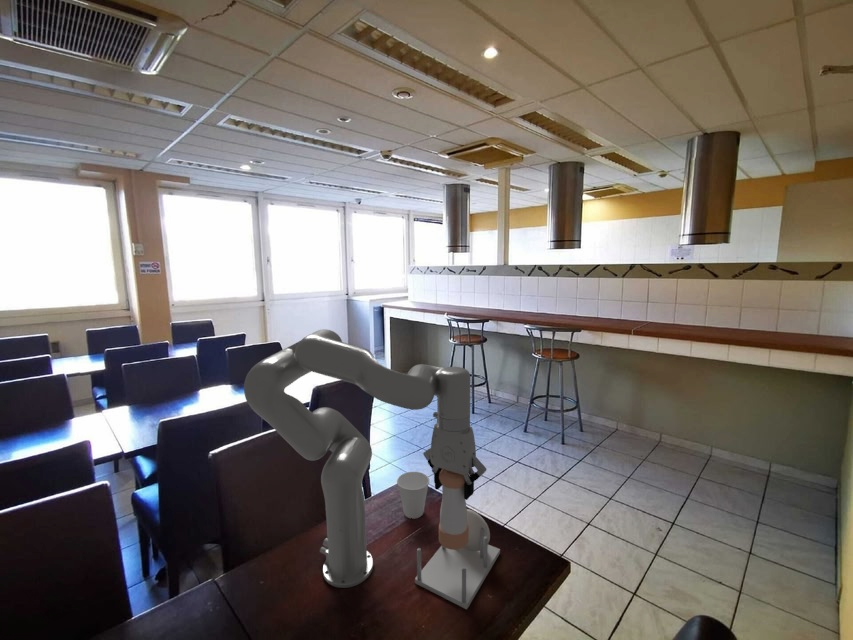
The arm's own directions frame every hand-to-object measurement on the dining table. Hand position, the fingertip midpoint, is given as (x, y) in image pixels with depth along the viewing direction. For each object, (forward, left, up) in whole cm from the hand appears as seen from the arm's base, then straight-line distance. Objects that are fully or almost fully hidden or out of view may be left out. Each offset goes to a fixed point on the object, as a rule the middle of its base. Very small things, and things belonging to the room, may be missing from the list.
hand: (453, 490), depth 95 cm
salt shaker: (0, 0, -13) cm, 13 cm away
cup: (-22, +15, -23) cm, 36 cm away
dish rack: (0, +3, -23) cm, 23 cm away
